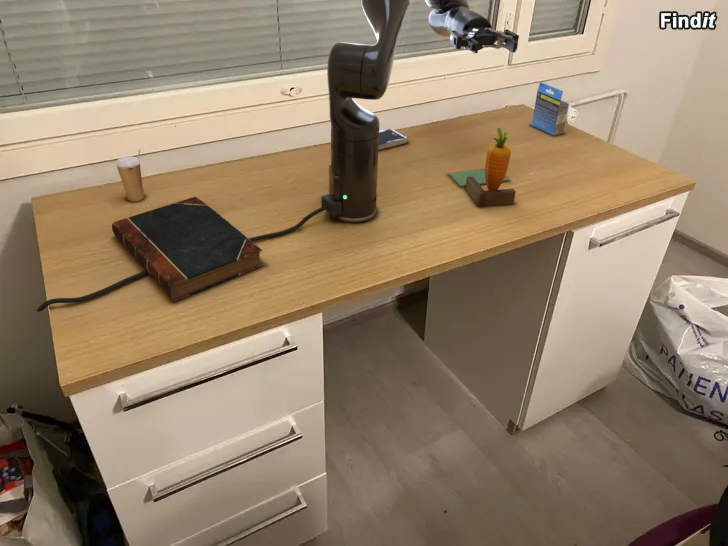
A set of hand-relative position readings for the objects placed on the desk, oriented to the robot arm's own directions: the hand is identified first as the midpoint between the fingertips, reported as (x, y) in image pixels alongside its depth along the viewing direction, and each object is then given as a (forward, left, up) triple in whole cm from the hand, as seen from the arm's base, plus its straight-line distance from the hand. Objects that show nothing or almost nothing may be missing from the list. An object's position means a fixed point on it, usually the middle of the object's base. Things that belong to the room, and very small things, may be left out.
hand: (496, 47), depth 123 cm
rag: (-2, -5, -28) cm, 28 cm away
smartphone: (-21, +18, -28) cm, 39 cm away
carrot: (-2, -13, -28) cm, 31 cm away
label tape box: (+28, +21, -28) cm, 45 cm away
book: (-66, -26, -28) cm, 76 cm away
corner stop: (-2, -13, -28) cm, 31 cm away
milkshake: (-77, -3, -28) cm, 82 cm away
